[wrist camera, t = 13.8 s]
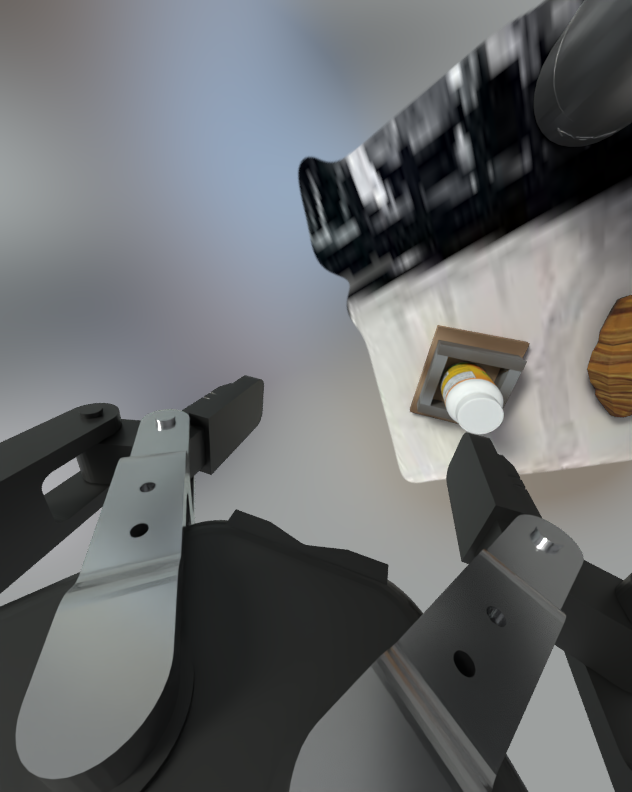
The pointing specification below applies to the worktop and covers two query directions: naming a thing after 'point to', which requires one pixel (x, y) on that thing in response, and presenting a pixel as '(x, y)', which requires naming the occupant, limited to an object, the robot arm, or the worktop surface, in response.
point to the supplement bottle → (472, 398)
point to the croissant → (614, 360)
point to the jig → (466, 346)
